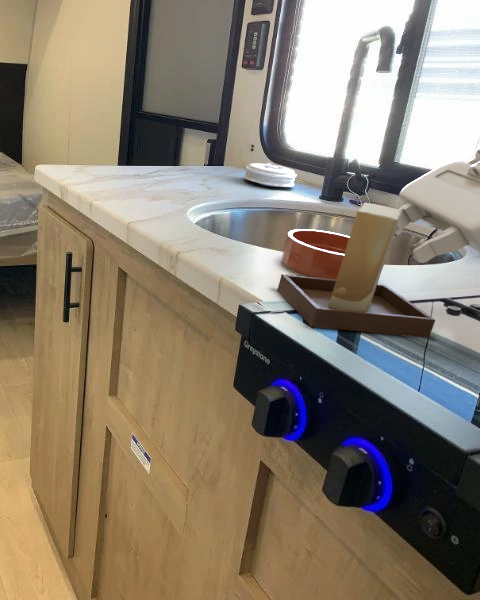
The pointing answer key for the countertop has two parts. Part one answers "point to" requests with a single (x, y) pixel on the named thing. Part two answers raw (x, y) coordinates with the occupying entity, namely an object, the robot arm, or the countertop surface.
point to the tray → (379, 319)
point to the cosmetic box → (364, 257)
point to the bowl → (315, 252)
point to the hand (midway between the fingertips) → (397, 244)
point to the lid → (270, 175)
